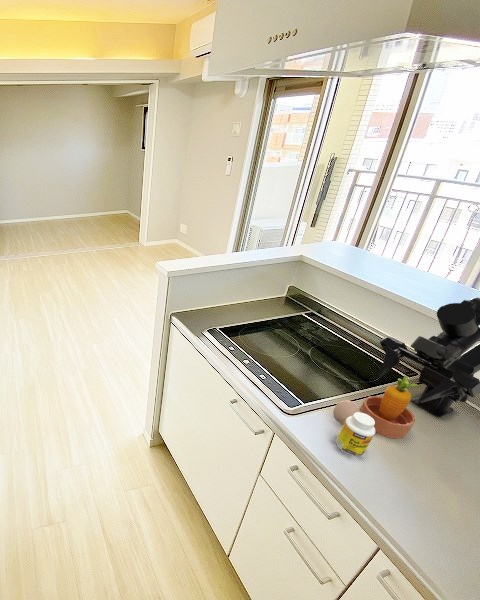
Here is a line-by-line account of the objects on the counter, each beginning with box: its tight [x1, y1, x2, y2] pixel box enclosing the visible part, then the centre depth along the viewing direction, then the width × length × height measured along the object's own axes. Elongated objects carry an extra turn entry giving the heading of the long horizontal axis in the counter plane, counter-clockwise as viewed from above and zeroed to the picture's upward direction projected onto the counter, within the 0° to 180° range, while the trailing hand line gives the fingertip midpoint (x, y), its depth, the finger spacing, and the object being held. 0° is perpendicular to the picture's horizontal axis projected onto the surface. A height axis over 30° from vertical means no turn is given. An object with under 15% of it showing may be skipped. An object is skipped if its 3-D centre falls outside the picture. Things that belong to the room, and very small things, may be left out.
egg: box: [332, 399, 360, 426], centre depth 86 cm, size 5×5×7 cm
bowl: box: [359, 395, 416, 439], centre depth 86 cm, size 10×10×5 cm
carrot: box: [379, 375, 419, 421], centre depth 83 cm, size 5×5×15 cm
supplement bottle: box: [335, 412, 376, 457], centre depth 79 cm, size 6×6×10 cm
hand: (398, 388), depth 81 cm, fingers open, 9 cm apart
